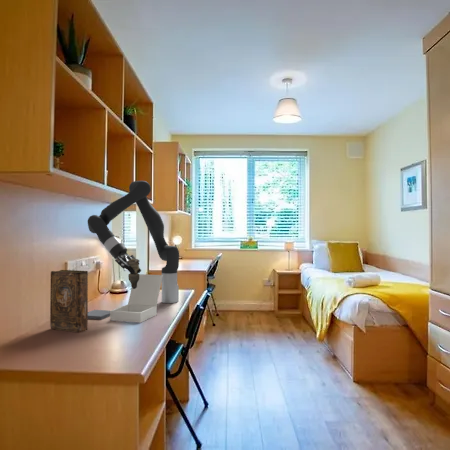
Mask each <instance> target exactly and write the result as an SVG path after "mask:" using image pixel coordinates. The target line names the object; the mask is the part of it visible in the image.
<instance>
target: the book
mask: <svg viewBox="0 0 450 450" xmlns="http://www.w3.org/2000/svg"><path fill="white" fill-rule="evenodd" d="M88 272H89V271H88V270H73V269H72V270H71V269H60V270H51V271H50V290H49V291H50V293H49V294H50V303H49V306H50V307H49V311H50V316H49V320H50V321H49V323H50V324H49V327H50V329H52V330H56V331H65V332H76V333H83V332H86V331H88V329H89V328H88V327H89V325H88V324H89V323H88V321H89V319H88V312H89V311H88V310H89V309H88V307H89V306H88V303H89V301H88V300H89V299H88V296H89V292H88V291H89V289H88V288H89V287H88V285H89V277H88V276H89V275H88V274H89V273H88Z"/></svg>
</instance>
